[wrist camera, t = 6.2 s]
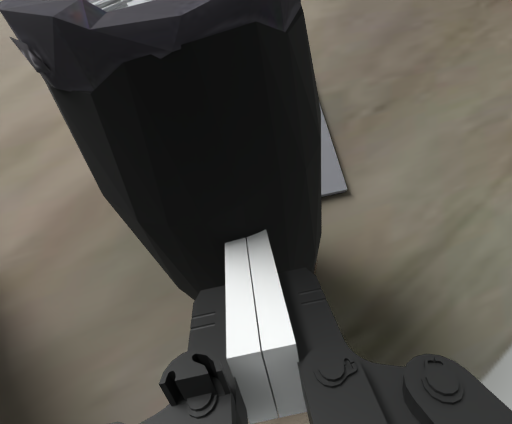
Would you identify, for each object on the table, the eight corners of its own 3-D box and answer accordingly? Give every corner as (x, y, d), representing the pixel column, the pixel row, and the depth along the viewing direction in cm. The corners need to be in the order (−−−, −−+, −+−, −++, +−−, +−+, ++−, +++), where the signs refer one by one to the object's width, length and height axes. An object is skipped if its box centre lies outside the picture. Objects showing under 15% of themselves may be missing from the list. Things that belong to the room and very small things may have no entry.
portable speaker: (341, 268, 22) (395, -105, 7) (261, 375, 19) (30, 69, 4) (257, 217, 27) (182, -82, 12) (179, 296, 23) (-80, 7, 8)
